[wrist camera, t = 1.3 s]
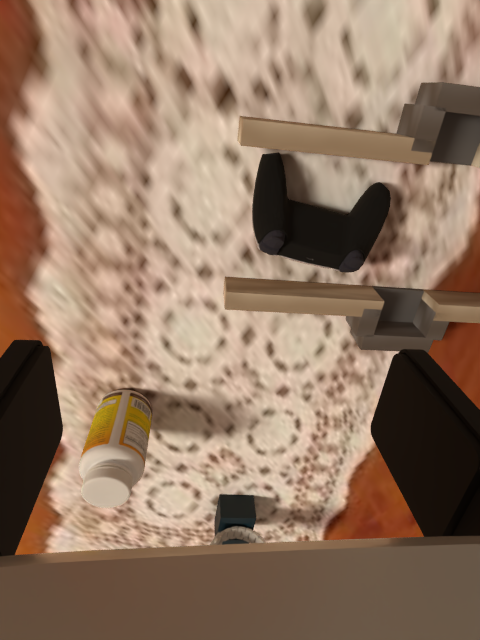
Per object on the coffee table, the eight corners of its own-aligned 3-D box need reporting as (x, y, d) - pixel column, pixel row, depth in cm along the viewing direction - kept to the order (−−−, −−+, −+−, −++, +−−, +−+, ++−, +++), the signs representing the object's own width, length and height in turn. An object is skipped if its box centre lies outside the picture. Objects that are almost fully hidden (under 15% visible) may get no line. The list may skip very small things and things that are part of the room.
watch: (260, 522, 53) (273, 615, 44) (201, 521, 52) (200, 617, 43) (268, 495, 51) (283, 589, 41) (205, 493, 49) (206, 589, 40)
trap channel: (245, 59, 27) (251, 55, 23) (662, 114, 31) (720, 117, 27) (220, 325, 37) (222, 349, 34) (533, 341, 41) (564, 364, 38)
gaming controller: (249, 177, 33) (237, 254, 31) (265, 142, 29) (252, 229, 27) (366, 209, 35) (361, 283, 33) (396, 181, 31) (393, 264, 29)
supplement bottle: (95, 422, 42) (66, 510, 33) (102, 382, 39) (73, 466, 31) (148, 430, 43) (133, 517, 34) (158, 392, 41) (145, 476, 32)
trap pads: (424, 109, 29) (426, 109, 29) (486, 116, 30) (489, 117, 29) (362, 318, 38) (363, 319, 38) (411, 320, 39) (412, 322, 38)
